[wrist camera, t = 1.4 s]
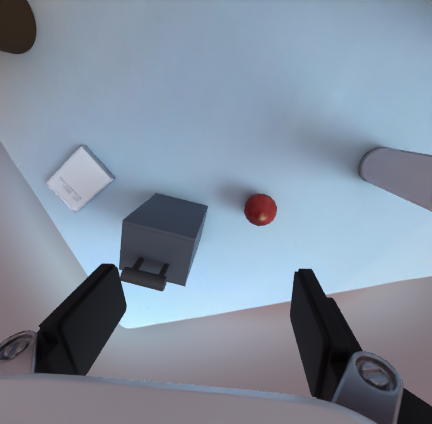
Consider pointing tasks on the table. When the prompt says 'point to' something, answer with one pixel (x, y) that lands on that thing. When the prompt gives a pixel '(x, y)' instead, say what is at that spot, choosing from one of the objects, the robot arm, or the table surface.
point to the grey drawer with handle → (160, 241)
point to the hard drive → (80, 178)
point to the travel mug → (400, 174)
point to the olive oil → (16, 26)
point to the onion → (260, 209)
